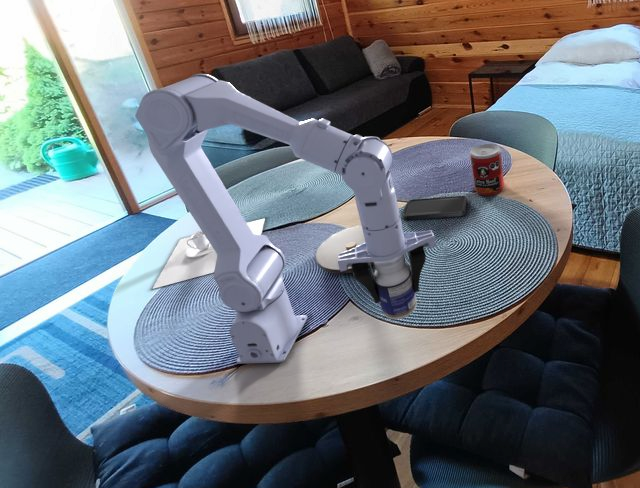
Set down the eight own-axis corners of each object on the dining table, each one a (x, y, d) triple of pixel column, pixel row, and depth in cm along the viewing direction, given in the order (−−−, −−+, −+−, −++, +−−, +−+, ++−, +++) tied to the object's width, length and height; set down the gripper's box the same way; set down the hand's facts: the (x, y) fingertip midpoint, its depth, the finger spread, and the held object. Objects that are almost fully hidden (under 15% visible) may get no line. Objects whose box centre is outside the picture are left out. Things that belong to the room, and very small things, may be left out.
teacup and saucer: (229, 234, 107) (224, 220, 105) (223, 251, 99) (217, 237, 98) (190, 244, 104) (184, 230, 103) (181, 263, 97) (174, 247, 96)
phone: (408, 199, 109) (466, 195, 108) (408, 203, 110) (467, 199, 108) (401, 216, 102) (464, 211, 100) (402, 220, 102) (464, 216, 101)
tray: (382, 271, 84) (376, 248, 82) (303, 276, 85) (296, 253, 83) (400, 225, 98) (395, 205, 96) (332, 230, 100) (327, 210, 98)
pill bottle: (378, 303, 71) (366, 253, 68) (411, 290, 73) (401, 241, 70) (387, 326, 66) (375, 273, 63) (422, 311, 68) (412, 260, 65)
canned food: (471, 195, 110) (465, 156, 106) (479, 181, 117) (474, 143, 113) (500, 196, 108) (496, 156, 104) (507, 181, 115) (503, 143, 111)
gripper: (423, 196, 69) (436, 266, 74) (330, 218, 66) (350, 290, 71) (432, 218, 62) (445, 292, 67) (330, 243, 59) (351, 320, 64)
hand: (397, 293), depth 69 cm, fingers closed on pill bottle, 5 cm apart
